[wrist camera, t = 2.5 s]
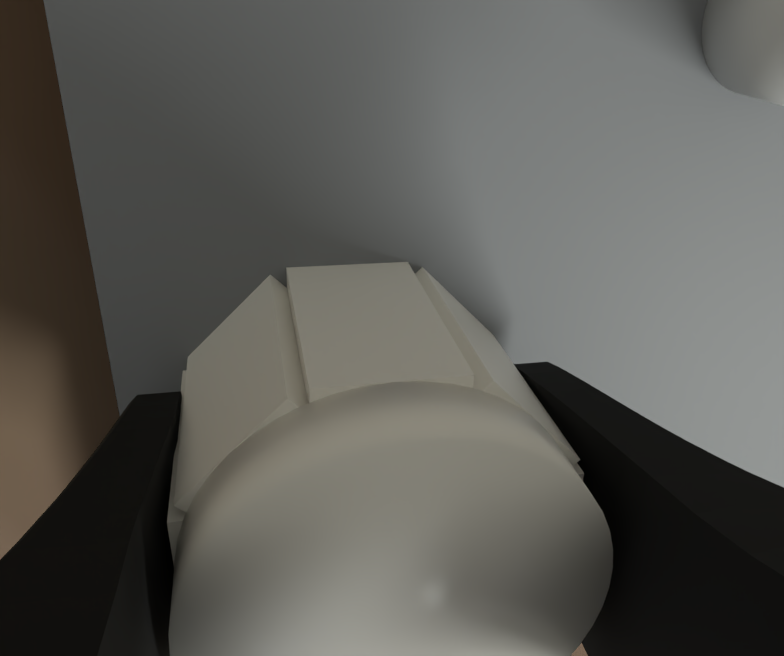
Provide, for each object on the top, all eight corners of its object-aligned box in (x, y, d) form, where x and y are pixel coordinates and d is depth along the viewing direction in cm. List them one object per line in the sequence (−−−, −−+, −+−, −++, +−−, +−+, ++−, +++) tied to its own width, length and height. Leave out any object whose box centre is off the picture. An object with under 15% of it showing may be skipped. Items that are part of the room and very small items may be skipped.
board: (158, 525, 13) (132, 747, 10) (7, -380, 7) (-228, -740, 4) (736, 456, 16) (892, 610, 12) (984, -253, 10) (1450, -380, 6)
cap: (203, 536, 12) (193, 790, 8) (170, 273, 10) (136, 467, 6) (477, 503, 13) (574, 716, 9) (508, 257, 11) (655, 414, 7)
